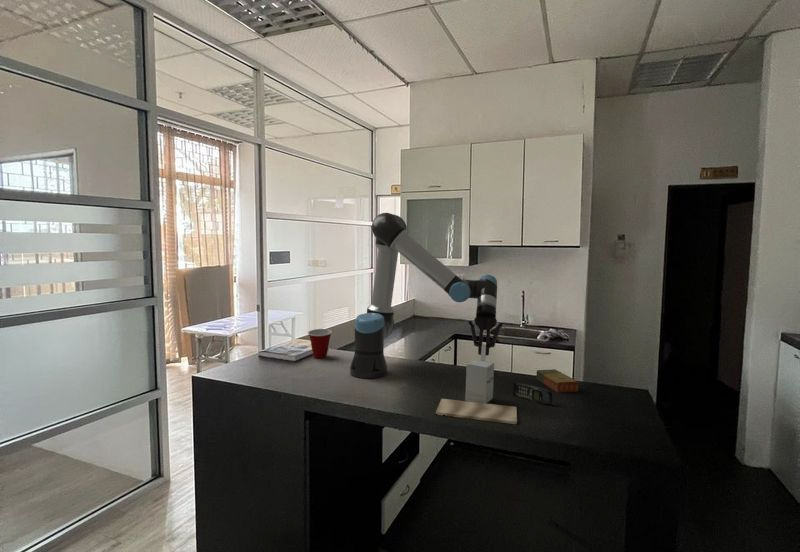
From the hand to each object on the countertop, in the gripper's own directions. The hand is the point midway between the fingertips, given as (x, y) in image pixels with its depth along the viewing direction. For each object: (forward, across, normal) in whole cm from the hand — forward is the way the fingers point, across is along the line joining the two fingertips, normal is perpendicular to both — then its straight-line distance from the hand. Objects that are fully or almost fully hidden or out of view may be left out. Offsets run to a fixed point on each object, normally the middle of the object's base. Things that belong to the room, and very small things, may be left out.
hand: (482, 362), depth 149 cm
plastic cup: (-10, +74, -25) cm, 79 cm away
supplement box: (+14, 0, -2) cm, 14 cm away
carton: (-3, -27, -20) cm, 33 cm away
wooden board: (+21, +1, +6) cm, 22 cm away
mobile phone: (+10, -18, -6) cm, 21 cm away
